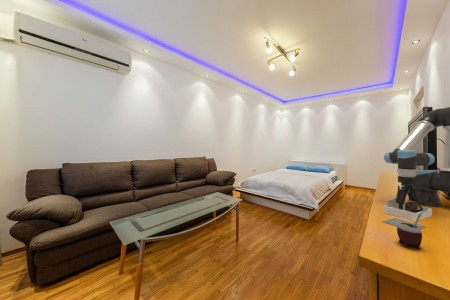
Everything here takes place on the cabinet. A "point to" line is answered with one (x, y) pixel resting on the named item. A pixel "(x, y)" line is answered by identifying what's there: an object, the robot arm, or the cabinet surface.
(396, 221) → the slate mat
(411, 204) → the pottery mug
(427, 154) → the robot arm
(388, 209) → the carton
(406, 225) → the mate gourd
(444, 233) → the cabinet surface
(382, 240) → the cabinet surface
